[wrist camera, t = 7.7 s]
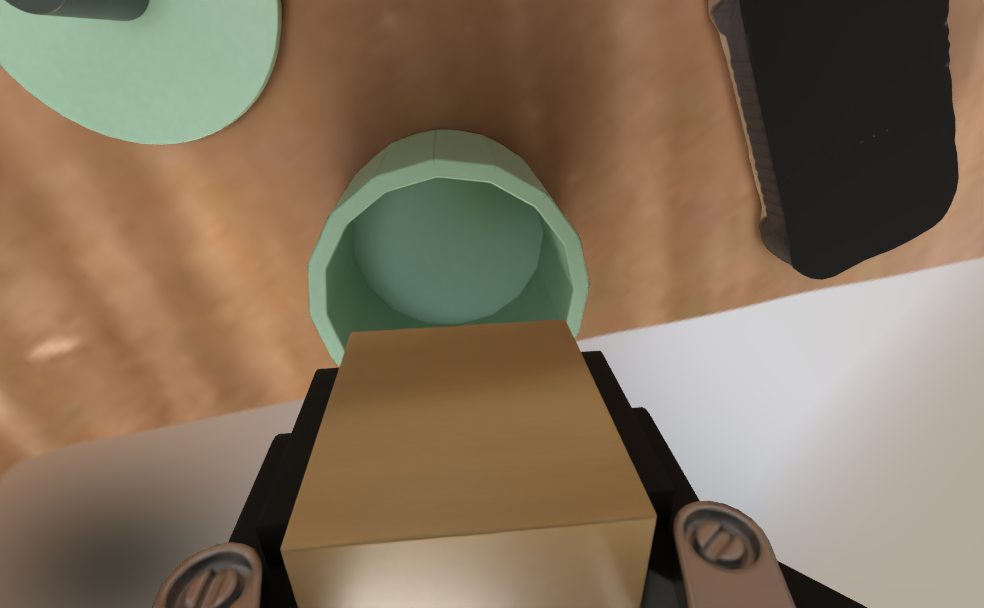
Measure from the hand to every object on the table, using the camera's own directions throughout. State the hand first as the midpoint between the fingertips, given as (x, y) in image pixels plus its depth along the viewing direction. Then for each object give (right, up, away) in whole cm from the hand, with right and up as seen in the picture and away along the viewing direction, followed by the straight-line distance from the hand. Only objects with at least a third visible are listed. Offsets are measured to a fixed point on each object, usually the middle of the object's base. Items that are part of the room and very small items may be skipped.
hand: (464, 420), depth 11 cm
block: (0, 0, 0) cm, 0 cm away
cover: (-14, +16, +10) cm, 23 cm away
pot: (-2, +6, +17) cm, 18 cm away
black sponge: (+17, +13, +15) cm, 26 cm away
